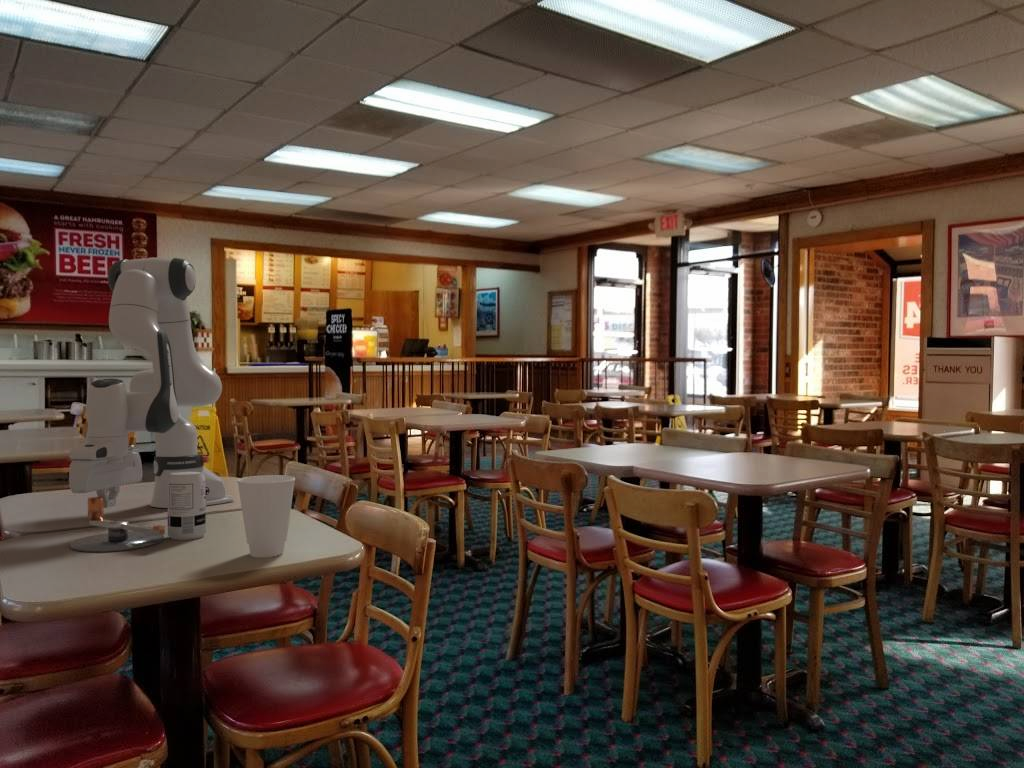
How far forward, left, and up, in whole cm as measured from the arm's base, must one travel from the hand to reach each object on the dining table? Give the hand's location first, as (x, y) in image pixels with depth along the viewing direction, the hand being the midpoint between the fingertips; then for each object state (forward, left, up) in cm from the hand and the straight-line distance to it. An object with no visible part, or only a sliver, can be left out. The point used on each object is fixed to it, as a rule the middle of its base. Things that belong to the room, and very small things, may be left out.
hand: (108, 506), depth 190 cm
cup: (-21, +42, -7) cm, 47 cm away
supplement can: (-13, +14, -7) cm, 20 cm away
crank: (0, +12, -3) cm, 13 cm away
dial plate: (0, +10, -7) cm, 12 cm away
